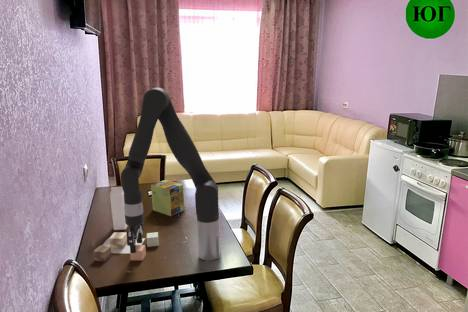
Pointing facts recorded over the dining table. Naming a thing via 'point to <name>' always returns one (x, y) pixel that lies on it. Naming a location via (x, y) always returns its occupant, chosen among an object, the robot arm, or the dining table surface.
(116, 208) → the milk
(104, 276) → the dining table surface
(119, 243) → the birch block
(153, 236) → the sage block
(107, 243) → the mat
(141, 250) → the terracotta block
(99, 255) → the walnut block
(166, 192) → the protein box
